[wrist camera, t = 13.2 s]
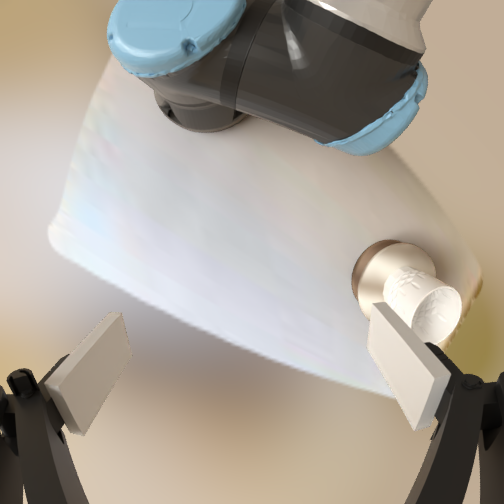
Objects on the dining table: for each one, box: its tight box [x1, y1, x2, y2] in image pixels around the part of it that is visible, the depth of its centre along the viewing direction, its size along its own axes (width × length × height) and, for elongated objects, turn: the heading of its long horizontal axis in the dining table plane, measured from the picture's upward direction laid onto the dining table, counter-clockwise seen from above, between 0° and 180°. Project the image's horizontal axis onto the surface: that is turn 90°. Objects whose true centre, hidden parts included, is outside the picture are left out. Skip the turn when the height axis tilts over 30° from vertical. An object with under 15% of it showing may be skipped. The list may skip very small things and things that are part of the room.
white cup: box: [383, 266, 462, 345], centre depth 34 cm, size 8×8×10 cm
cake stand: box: [352, 240, 436, 321], centre depth 41 cm, size 13×13×6 cm
